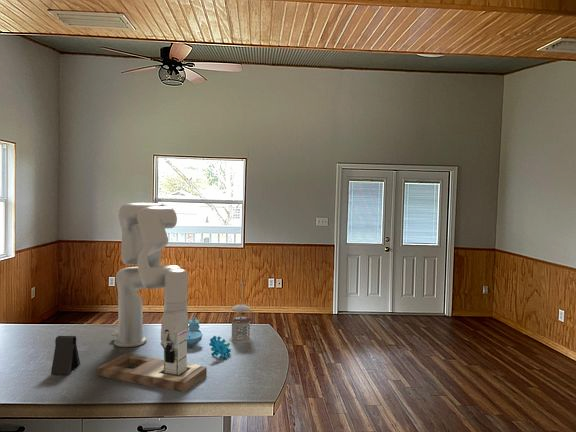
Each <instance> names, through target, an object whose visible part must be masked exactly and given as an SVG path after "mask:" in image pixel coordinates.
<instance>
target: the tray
mask: <svg viewBox="0 0 576 432" xmlns="http://www.w3.org/2000/svg"><path fill="white" fill-rule="evenodd" d="M128 367H132V368H128ZM207 368H208V367H207V366H204V365H203V366H202V364H195V363H191V362H190V363H189V362H187V370H186V371H184V372H183V373H181V374H180V375H172V374H166V373H164V359H160V358H153V357H147V356H141V355H136V354H130V353H124V354H123V355H120V356H118V357H116V358H114V359H112V360H111V361H108V362H106V363H104V364H102V365H100V366H98V367H97V376H98V377H101V378H107V379H113V380H118V381H122V382H128V383H132V384H133V383H134V384H140V385H145V386H151V387H153V388H154V387H155V388H161V389H166V390H171V391H175V392H176V391H177V392H181V393H186V392H187V391H188V390H190V389H191V388H193V387H194V386H195V385H196V384H198V383H199V382H200V381H202V380H203V379H204V378H206V377H207V373H208V372H207Z"/></svg>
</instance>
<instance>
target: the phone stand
mask: <svg viewBox="0 0 576 432" xmlns="http://www.w3.org/2000/svg"><path fill="white" fill-rule="evenodd" d="M54 342H55V343H54V345H55V346H54V352H53V357H52V358H53V359H52V364H51V370H50V371H51V372H50V375H51V374H53V375H56V376H57V375H60V376H70V374H71V372H72V371H73V372H74V371H75V370H76V369H78V368H79V367H80V366H81V360H80V356H79V351H78V346H77V336H76V335H57V336H56V337H55V341H54ZM79 365H80V366H79ZM78 366H79V367H78ZM77 367H78V368H77ZM53 375H52V376H53Z"/></svg>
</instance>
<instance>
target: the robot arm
mask: <svg viewBox="0 0 576 432" xmlns="http://www.w3.org/2000/svg"><path fill="white" fill-rule="evenodd" d="M118 220H119V221H118V222H119V224H120V228H121V249H120V251H121V252H120V257H121V258H120V259H121V261H122V263H123V264H124V265H127V266H130V267H124V268H121V269H119V270H118V271H117V272H116V274H115V275H116V276H115V281H116V289H117V296H118V297H117V299H118V300H117V301H118V304H117V305H118V306H117V307H118V308H117V309H118V311H117V312H118V315H117V316H118V322H117V323H118V324H117V325H118V328H117V329H118V330H117V329H114V330H113V331H112V333H111V336H112V337H116V338H115V340H114V341H113V342H114V346H117V347H119V348H133V347H139V346H141V345H144V344H145V343H147V337H146V336H144V335H143V310H144V309H143V298H142V296H141V295H140V294H139V293H138V292H137V291H139V290H145V289H146V290H147V289H148V290H155V289H164V290H163V291H164V293H163V295H164V296H163V297H164V300H163V303H164V305H163V308H164V309H163V310H164V311H163V314H162V318H161V327H160V346H161V347H162V348H163V352H164V351H165V362H168V363H174V351H173V349H174V342H176V334H177V333H178V332H180V331H181V330H183V329H187V335H188V333H189V328H188V326H189V315H188V278H189V277H188V271H187V270H186V269H183V268H182V267H181V266H179V265H176V264H173V265H171V264H170V265H169V264H168V265H162V250H163V249H165V247H167V246H168V244H169V237H168V234H167V231H166V229H167V230H168V229H174V228H175V227H176V225H177V223H178V216H177V213H176V210H175V209H173V207H171V206H169V205H166V204H164V203H161V202H160V203H156V202H128V203H124V204H121V206H120V207H119V209H118ZM133 265H136V266H133ZM168 339H171V341H168ZM168 343H171V347H170V346H169V345H168Z"/></svg>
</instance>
